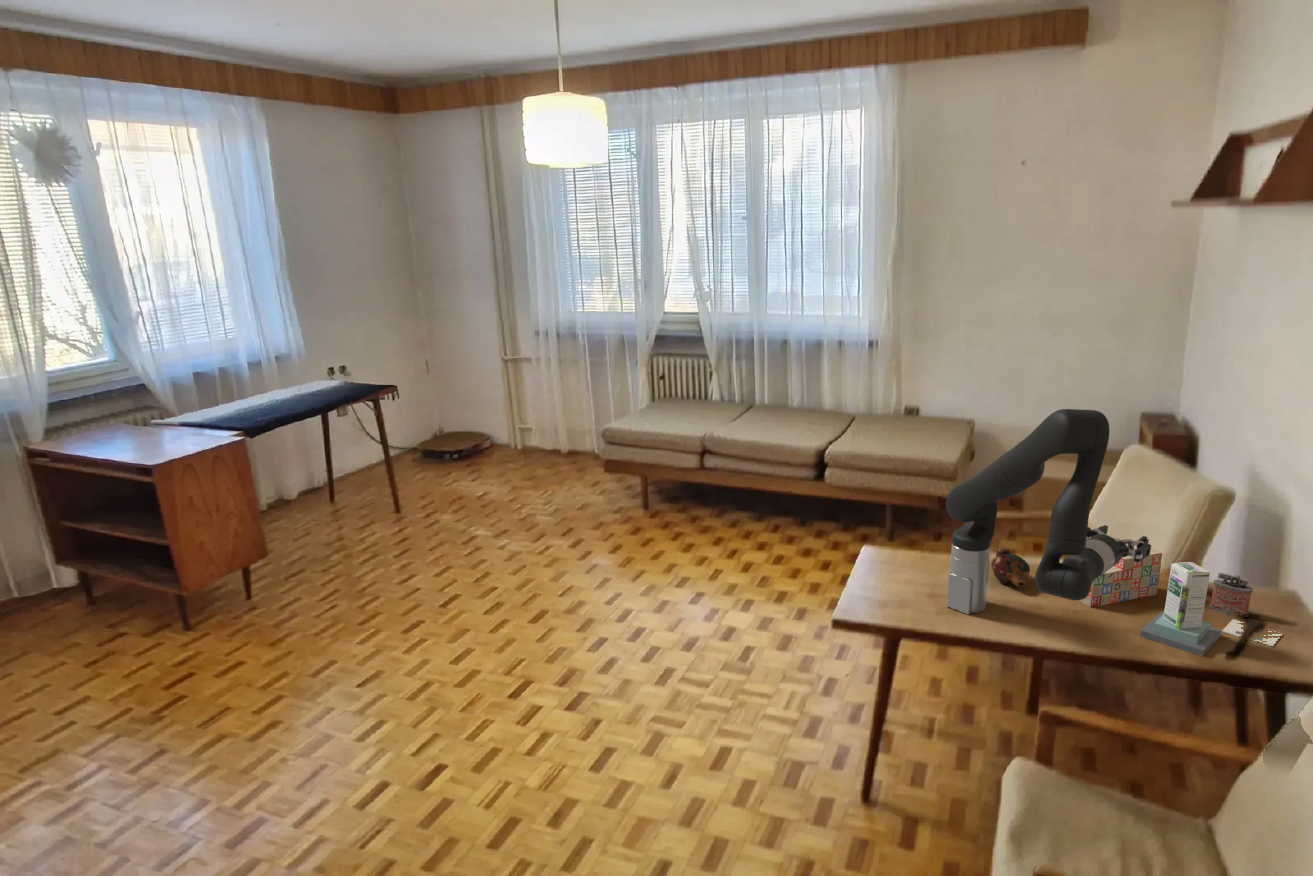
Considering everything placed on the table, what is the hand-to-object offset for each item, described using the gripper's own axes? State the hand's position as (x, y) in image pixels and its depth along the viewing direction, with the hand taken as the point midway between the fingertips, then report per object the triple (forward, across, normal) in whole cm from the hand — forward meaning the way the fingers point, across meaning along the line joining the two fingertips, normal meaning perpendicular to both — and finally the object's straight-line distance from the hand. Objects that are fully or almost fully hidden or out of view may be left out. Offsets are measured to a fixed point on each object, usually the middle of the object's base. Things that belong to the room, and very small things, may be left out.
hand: (1125, 534), depth 189 cm
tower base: (+8, -13, +25) cm, 29 cm away
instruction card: (+21, -24, +25) cm, 40 cm away
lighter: (+29, -17, +25) cm, 42 cm away
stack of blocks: (+19, +6, +26) cm, 33 cm away
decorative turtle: (+8, +29, +27) cm, 40 cm away
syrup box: (+8, -12, +22) cm, 26 cm away
